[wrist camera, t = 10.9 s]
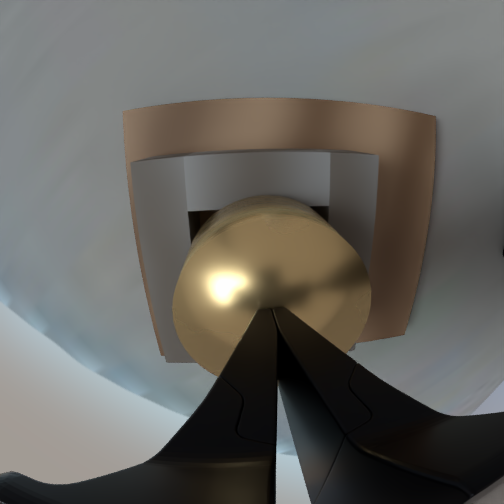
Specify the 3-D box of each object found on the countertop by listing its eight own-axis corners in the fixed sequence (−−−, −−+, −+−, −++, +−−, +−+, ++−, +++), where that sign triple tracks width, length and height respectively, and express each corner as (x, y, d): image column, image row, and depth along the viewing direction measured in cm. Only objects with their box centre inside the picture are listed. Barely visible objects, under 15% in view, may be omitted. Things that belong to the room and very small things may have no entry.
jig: (425, 116, 13) (473, 117, 9) (398, 326, 18) (425, 364, 15) (129, 112, 13) (93, 105, 9) (164, 345, 18) (151, 392, 14)
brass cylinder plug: (321, 181, 14) (385, 218, 8) (313, 293, 16) (351, 378, 10) (193, 182, 13) (160, 221, 7) (201, 296, 15) (186, 388, 9)
